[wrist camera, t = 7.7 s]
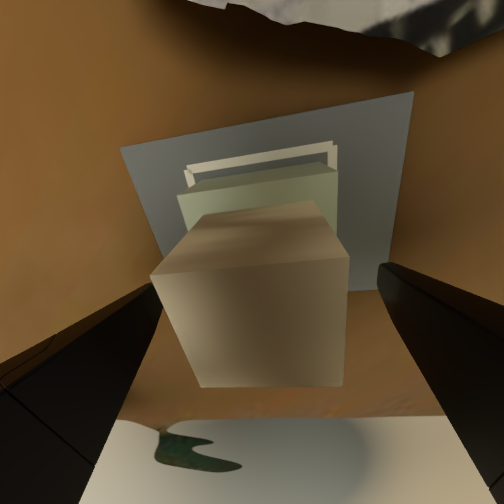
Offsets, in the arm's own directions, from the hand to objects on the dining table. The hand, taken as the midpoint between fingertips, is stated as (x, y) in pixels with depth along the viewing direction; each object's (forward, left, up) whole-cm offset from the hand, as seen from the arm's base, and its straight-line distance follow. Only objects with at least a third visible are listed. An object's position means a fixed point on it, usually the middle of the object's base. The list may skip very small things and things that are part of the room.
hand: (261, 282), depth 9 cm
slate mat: (0, 0, -7) cm, 7 cm away
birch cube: (0, 0, -2) cm, 2 cm away
